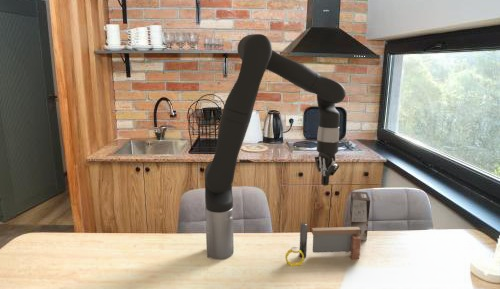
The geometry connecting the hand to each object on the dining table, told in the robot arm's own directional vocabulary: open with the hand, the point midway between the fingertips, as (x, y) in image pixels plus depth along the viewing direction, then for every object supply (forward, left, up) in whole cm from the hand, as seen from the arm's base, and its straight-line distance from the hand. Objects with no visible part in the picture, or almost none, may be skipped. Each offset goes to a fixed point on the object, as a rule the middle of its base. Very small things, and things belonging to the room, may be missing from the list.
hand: (324, 184), depth 127 cm
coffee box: (+14, +2, -22) cm, 26 cm away
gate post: (-10, -12, -21) cm, 27 cm away
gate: (+1, -12, -20) cm, 23 cm away
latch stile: (+7, -15, -21) cm, 27 cm away
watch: (-14, -17, -22) cm, 31 cm away
